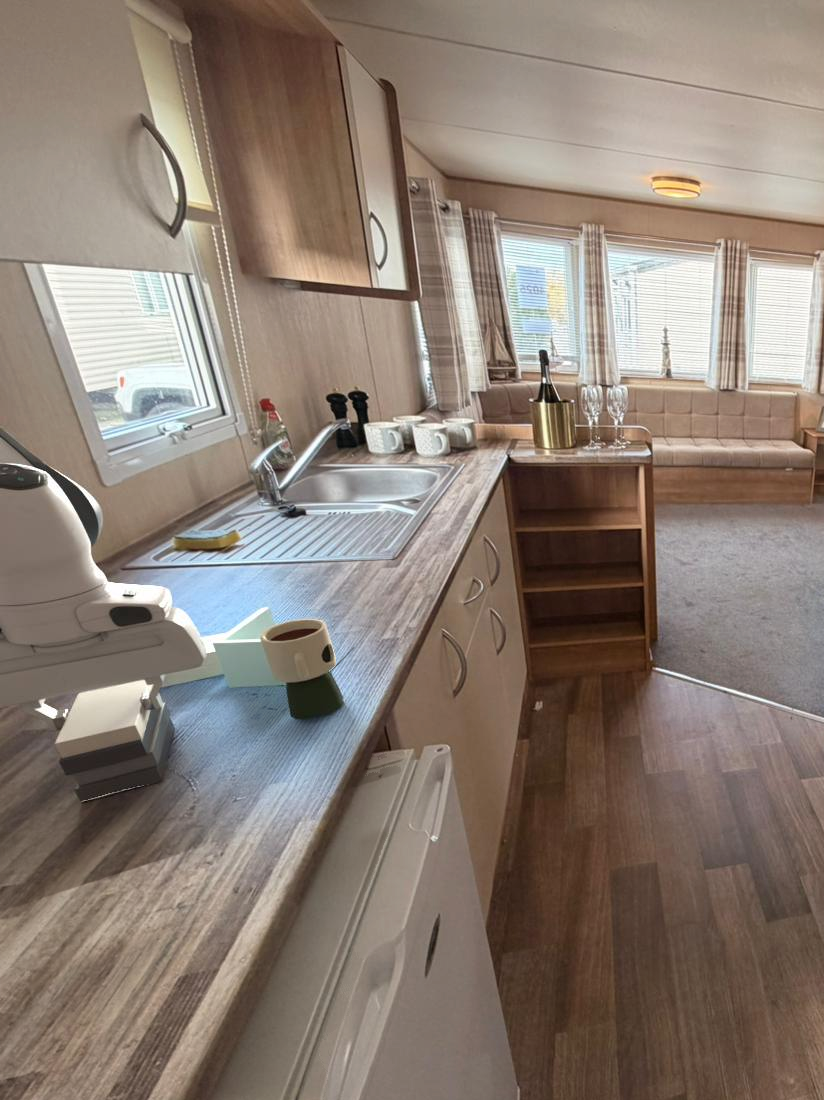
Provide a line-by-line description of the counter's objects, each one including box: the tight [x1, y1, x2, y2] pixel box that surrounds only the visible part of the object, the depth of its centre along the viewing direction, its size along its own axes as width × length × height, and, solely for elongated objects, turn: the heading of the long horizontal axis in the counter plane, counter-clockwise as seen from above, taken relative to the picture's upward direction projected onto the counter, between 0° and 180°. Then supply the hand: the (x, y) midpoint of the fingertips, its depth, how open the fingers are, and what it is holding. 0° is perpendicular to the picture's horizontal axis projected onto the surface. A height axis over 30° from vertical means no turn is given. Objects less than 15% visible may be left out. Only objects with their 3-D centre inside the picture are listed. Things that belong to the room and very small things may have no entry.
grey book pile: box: [58, 701, 176, 802], centre depth 77 cm, size 13×7×6 cm, turn 37°
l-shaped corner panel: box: [212, 606, 286, 689], centre depth 99 cm, size 12×12×8 cm
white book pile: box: [117, 632, 227, 689], centre depth 96 cm, size 12×7×4 cm, turn 127°
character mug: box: [260, 618, 345, 720], centre depth 87 cm, size 11×7×13 cm, turn 37°
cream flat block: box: [54, 680, 153, 758], centre depth 76 cm, size 12×6×2 cm, turn 37°
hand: (110, 716), depth 76 cm, fingers closed on cream flat block, 6 cm apart
